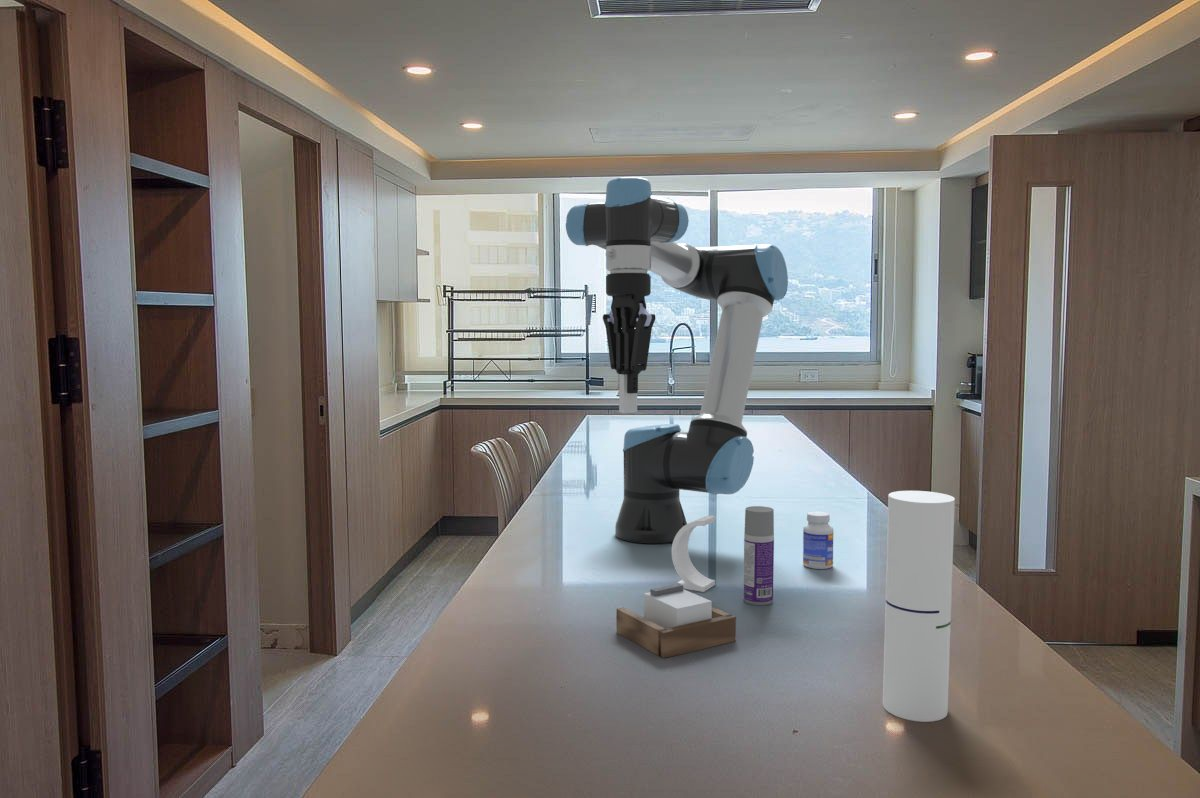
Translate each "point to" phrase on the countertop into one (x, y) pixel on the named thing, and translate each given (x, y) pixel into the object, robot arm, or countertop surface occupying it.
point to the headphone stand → (682, 559)
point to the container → (758, 555)
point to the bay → (676, 633)
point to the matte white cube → (675, 606)
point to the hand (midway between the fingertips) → (628, 412)
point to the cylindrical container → (918, 604)
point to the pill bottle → (818, 541)
